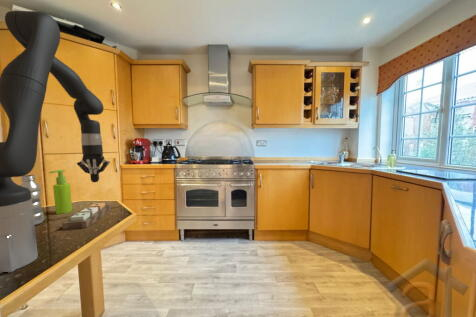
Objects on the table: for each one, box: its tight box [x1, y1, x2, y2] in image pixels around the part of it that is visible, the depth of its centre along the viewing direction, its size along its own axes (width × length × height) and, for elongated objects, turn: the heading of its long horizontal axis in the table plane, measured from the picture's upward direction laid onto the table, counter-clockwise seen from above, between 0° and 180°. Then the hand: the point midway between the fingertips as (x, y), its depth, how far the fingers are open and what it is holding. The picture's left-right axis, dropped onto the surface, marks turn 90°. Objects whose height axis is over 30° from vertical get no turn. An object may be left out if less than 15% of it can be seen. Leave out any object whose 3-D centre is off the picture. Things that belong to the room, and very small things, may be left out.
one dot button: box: [88, 202, 106, 209], centre depth 94 cm, size 4×4×3 cm
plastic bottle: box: [19, 174, 45, 226], centre depth 81 cm, size 6×7×20 cm
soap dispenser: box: [49, 169, 73, 215], centre depth 95 cm, size 6×7×20 cm
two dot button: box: [70, 212, 90, 221], centre depth 81 cm, size 4×4×3 cm
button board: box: [62, 204, 112, 230], centre depth 88 cm, size 21×8×2 cm, turn 10°
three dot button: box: [79, 207, 98, 214], centre depth 87 cm, size 4×4×3 cm
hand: (95, 181), depth 93 cm, fingers closed
